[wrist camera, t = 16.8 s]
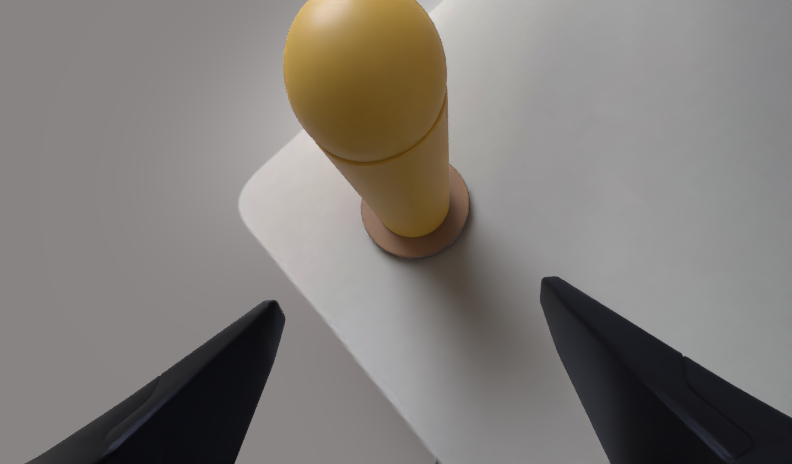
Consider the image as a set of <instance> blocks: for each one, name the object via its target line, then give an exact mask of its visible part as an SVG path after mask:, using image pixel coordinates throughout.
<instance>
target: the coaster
mask: <svg viewBox="0 0 792 464" xmlns="http://www.w3.org/2000/svg"><path fill="white" fill-rule="evenodd" d="M449 197H450V203H449V210H448V213H447V216H446V217H445V219H444V221H443V222H442V223H441V225H440V226H439V227H438V228H436V229H435V230H434V231H432V232H431V233H429V234H426V235H424V236H420V237H404V236H400V235H397V234H395V233H393V232H392V231H391V230H389V229H388V228H387V227H386V226H385V225H384V223H383V222H382V221H381V220H380V219H379V217H378V216H377V215H376V214H375V213H374V211H373V210H372V209H371V208H370V207H369V206H368V204H367V203H366V202H365V201H364V200H363V198H362V202H361V215H362V220H363V224H364V226H365V229H366V231H367V233H368V234H369V236H370V237H371V238H372V240H373V241H374V242H375V243H376V244H377V245H379V246H380V247H381V248H382V249H384V250H385V251H387V252H389V253H391V254H393V255H396V256H399V257H403V258H413V259H416V258H424V257H428V256H431V255H434V254H437V253H439V252H441V251H443V250H444V249H445V248H447V247H448V246H450V245H451V244H452V243H453V242H454V241H455V240H456V239H457V237H458V236H459V235H460V233H461V232H462V230H463V228H464V226H465V224H466V221H467V217H468V212H469V194H468V190H467V186H466V184H465V182H464V180H463V178H462V177H461V175H460V174H459V173H458V172H457V170H456V169H455V168H453V167H452V166H451V165H450V164H449Z"/></svg>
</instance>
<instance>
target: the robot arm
mask: <svg viewBox="0 0 792 464" xmlns="http://www.w3.org/2000/svg"><path fill="white" fill-rule="evenodd" d="M540 302H541V306H542V309H543V312H544V315H545V318H546V320H547V323H548V326H549V329H550V332H551V335H552V338H553V341H554V344H555V346H556V349H557V352H558V354H559V356H560V358H561V361H562V363H563V365H564V367H565V369H566V371H567V373H568V375H569V377H570V379H571V382H572V384H573V386H574V388H575V390H576V392H577V394H578V396H579V398H580V400H581V403H582V405H583V407H584V409H585V411H586V413H587V415H588V417H589V419H590V421H591V424H592V426H593V428H594V430H595V432H596V434H597V436H598V438H599V440H600V442H601V444H602V447H603V449H604V451H605V453H606V455H607V457H608V459H609V461H610V463H611V464H792V418H791V417H789V416H787V415H785V414H784V413H782V412H780V411H778V410H776V409H774V408H773V407H771V406H769V405H767V404H766V403H764V402H762V401H760V400H758V399H757V398H755V397H753V396H751V395H750V394H748V393H746V392H744V391H743V390H741V389H739V388H737V387H735V386H734V385H732V384H730V383H729V382H727V381H725V380H724V379H722V378H720V377H719V376H717V375H715V374H714V373H712V372H711V371H709V370H707V369H706V368H704V367H702V366H701V365H699V364H697V363H696V362H694V361H693V360H691V359H689V358H688V357H686V356H684V357H683V355H682V354H681V353H680V352H678V351H676V350H675V349H673V348H672V347H670V346H668V345H667V344H665V343H664V342H662V341H660V340H659V339H657V338H655V337H654V336H652V335H651V334H649V333H647V332H646V331H644V330H643V329H641V328H639V327H638V326H636V325H635V324H633V323H631V322H630V321H628V320H627V319H625V318H623V317H622V316H620V315H619V314H617V313H615V312H614V311H612V310H610V309H609V308H607V307H606V306H604V305H602V304H601V303H599V302H598V301H596V300H594V299H593V298H591V297H590V296H588V295H586V294H585V293H583V292H582V291H580V290H578V289H577V288H575V287H574V286H572V285H570V284H569V283H567V282H566V281H564V280H562V279H561V278H559V277H556V276H553V277H544V278H543V279H542V281H541V292H540ZM284 325H285V315H284V313H283V311H282V309H281V308H280V306H279V304H278V302H277V301H275V300H267V301H263V302H262V303H260V304H259V305H258V306H256V307H255V308H253V309H252V310H251V311H249V312H248V313H246V314H245V315H244V316H242V317H241V318H239V319H238V320H237V321H235V322H234V323H233V324H231V325H230V326H228V327H227V328H225V329H224V330H223V331H221V332H220V333H218V334H217V335H216V336H214V337H213V338H212V339H210V340H209V341H207V342H206V343H204V344H203V345H202V346H200V347H199V348H197V349H196V350H195V351H193V352H192V353H191V354H189V355H188V356H186V357H185V358H184V359H182V360H181V361H179V362H178V363H176V364H175V365H174V366H172V367H171V368H169V369H168V370H167V371H165V372H164V373H162V374H161V376H158V377H157V378H155V379H154V380H153V381H151V382H150V383H148V384H147V385H146V386H144V387H143V388H141V389H140V390H138V391H137V392H136V393H134V394H133V395H131V396H130V397H129V398H127V399H126V400H124V401H123V402H121V403H119V404H118V405H116V406H115V407H113V408H112V409H110V410H109V411H107V412H106V413H104V414H103V415H102V416H100V417H98V418H97V419H95V420H94V421H92V422H91V423H89V424H88V425H86V426H85V427H83V428H82V429H80V430H78V431H77V432H75V433H74V434H72V435H71V436H69V437H68V438H66V439H65V440H63V441H62V442H60V443H59V444H57V445H56V446H54V447H52V448H51V449H49V450H48V451H46V452H45V453H43V454H41V455H40V456H38V457H37V458H35V459H33V460H31V461H29V462H27V463H25V464H234V463H235V461H236V458H237V456H238V453H239V451H240V448H241V445H242V443H243V440H244V438H245V435H246V433H247V430H248V427H249V425H250V422H251V420H252V417H253V415H254V412H255V409H256V407H257V404H258V402H259V399H260V397H261V394H262V391H263V389H264V386H265V384H266V381H267V379H268V376H269V374H270V371H271V368H272V365H273V363H274V360H275V356H276V353H277V349H278V346H279V342H280V339H281V335H282V332H283V328H284Z"/></svg>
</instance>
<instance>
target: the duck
mask: <svg viewBox="0 0 792 464" xmlns="http://www.w3.org/2000/svg"><path fill="white" fill-rule="evenodd" d="M283 61H284V62H283V72H284V73H283V74H284V82H285V87H286V92H287V95H288V99H289V102H290V104H291V107H292V109H293V111H294V113H295V115H296V117H297V119H298V120H299V122H300V124H301V125H302V126H303V128H304V129H305V131H306V132H307V133H308V134H309V136H311V137H312V138H313V139H314V140H315V142H316V144H317V145H318V146H319V147H320V149H321V150H322V151H323V152H324V153H325V155H326V156H327V157H328V158H329V159H330V160H331V162H332V163H333V164H334V165H335V166H336V168H337V169H338V170H339V171H340V172H341V173H342V175H343V176H344V177H345V178H346V179H347V181H348V182H349V183H350V184H351V185H352V187H353V188H354V189H355V190H356V191H357V192H358V194H359V195H360V196H361V197H362V198H363V200H364V201H365V202H366V203H367V204H368V206H369V207H370V208H371V209H372V210H373V211H374V213H375V214H376V215H377V216H378V217H379V219H380V220H381V221H382V222H383V223H384V225H385V226H386V227H387V228H388V229H389V230H391V231H392V232H393V233H395V234H397V235H400V236H404V237H420V236H424V235H426V234H429V233H431V232H432V231H434V230H435V229H436V228H438V227H439V226H440V225H441V223H442V222H443V221H444V219H445V217H446V216H447V213H448V210H449V203H450V197H449V147H448V98H447V85H446V83H447V67H446V57H445V53H444V49H443V45H442V42H441V39H440V36H439V34H438V32H437V29H436V27H435V25H434V23H433V22H432V20H431V19H430V17H429V16H428V14H427V13H426V11H425V10H424V9H423V8H422V6H421V5H420V4H419V3H418V2H417V1H416V0H308V1H307V2H306V3H305V5H304V6H303V7H302V8H301V10H300V11H299V12H298V14H297V16H296V18H295V19H294V21H293V23H292V26H291V28H290V30H289V33H288V37H287V40H286V45H285V49H284V60H283Z"/></svg>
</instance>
